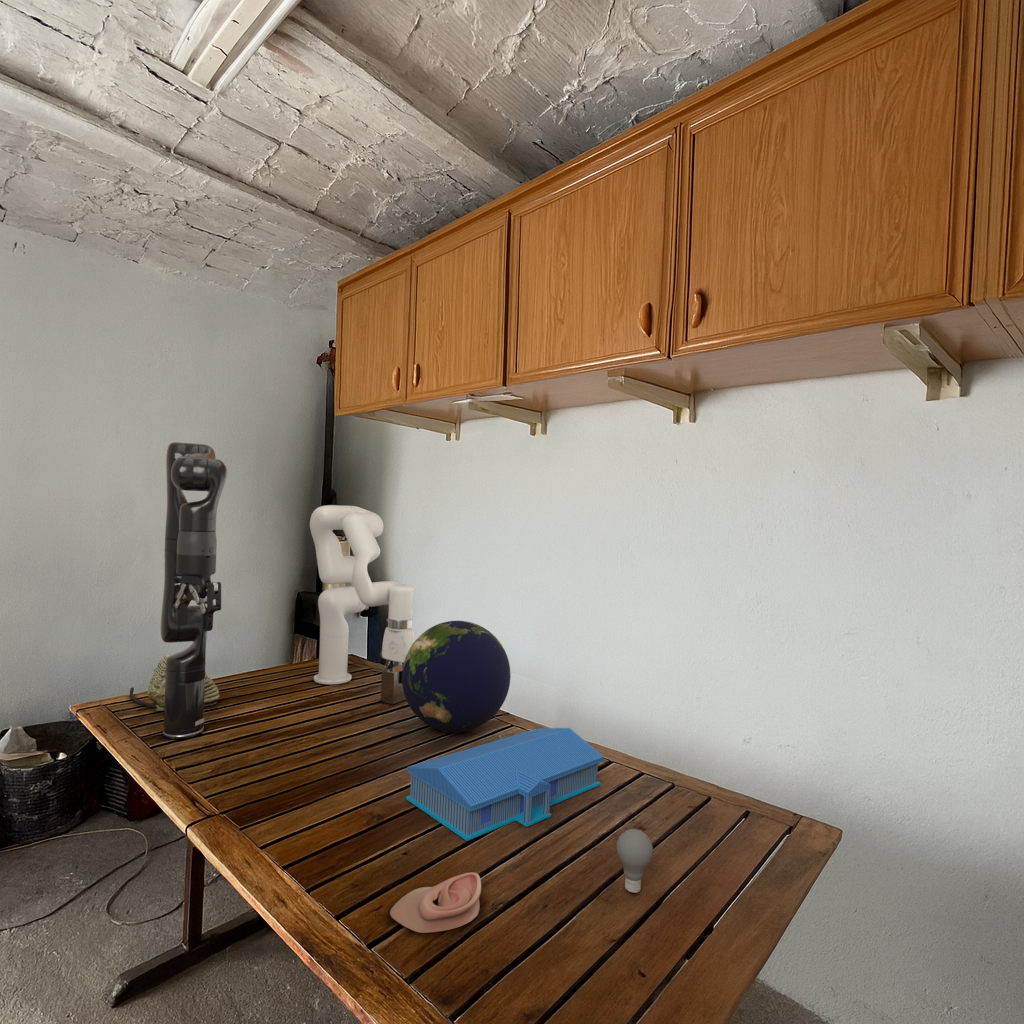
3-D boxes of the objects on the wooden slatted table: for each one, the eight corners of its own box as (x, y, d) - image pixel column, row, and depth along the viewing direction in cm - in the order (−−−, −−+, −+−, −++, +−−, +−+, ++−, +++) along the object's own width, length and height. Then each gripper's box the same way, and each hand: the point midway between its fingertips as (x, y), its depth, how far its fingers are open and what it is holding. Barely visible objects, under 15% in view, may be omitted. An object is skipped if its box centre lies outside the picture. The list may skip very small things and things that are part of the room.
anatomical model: (382, 899, 94) (410, 857, 105) (381, 926, 94) (409, 881, 105) (468, 915, 91) (487, 870, 103) (467, 942, 92) (486, 894, 103)
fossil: (144, 707, 182) (145, 655, 182) (212, 696, 194) (213, 647, 194) (151, 716, 175) (153, 662, 175) (221, 703, 188) (223, 653, 188)
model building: (477, 848, 116) (480, 794, 116) (404, 798, 134) (406, 751, 134) (612, 789, 143) (614, 745, 142) (536, 754, 161) (537, 715, 161)
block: (380, 701, 196) (381, 670, 196) (400, 694, 204) (401, 664, 204) (392, 704, 194) (394, 673, 194) (411, 697, 202) (413, 667, 202)
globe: (377, 737, 168) (382, 624, 167) (433, 705, 195) (437, 608, 195) (480, 759, 156) (485, 638, 156) (523, 721, 184) (528, 619, 183)
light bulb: (610, 879, 108) (613, 822, 108) (644, 879, 109) (647, 822, 109) (619, 902, 102) (622, 840, 102) (655, 901, 103) (658, 840, 103)
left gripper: (159, 550, 135) (157, 626, 135) (201, 555, 127) (198, 635, 128) (193, 548, 141) (190, 621, 141) (234, 553, 134) (231, 630, 134)
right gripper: (371, 622, 200) (368, 679, 200) (413, 630, 191) (411, 689, 192) (387, 618, 206) (385, 674, 207) (429, 626, 198) (426, 683, 198)
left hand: (194, 628), depth 135 cm, fingers open, 8 cm apart
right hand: (397, 680), depth 199 cm, fingers open, 5 cm apart
